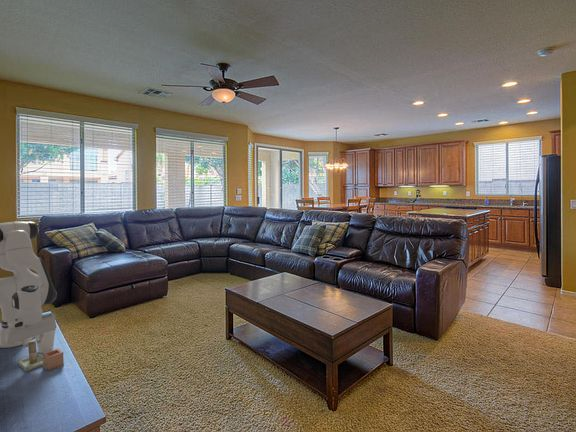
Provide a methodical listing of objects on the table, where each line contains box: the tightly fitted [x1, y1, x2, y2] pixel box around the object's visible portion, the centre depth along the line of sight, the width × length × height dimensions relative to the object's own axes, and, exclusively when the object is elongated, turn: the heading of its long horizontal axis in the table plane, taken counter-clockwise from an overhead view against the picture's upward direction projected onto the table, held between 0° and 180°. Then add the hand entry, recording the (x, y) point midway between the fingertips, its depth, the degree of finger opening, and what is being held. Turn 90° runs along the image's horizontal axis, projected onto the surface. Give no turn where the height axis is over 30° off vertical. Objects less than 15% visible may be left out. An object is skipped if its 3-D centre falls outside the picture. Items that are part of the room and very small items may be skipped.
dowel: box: [27, 339, 38, 364], centre depth 159 cm, size 3×3×11 cm
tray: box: [17, 352, 44, 373], centre depth 160 cm, size 12×9×2 cm
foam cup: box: [34, 328, 57, 354], centre depth 173 cm, size 10×9×13 cm
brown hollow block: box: [42, 348, 65, 372], centre depth 158 cm, size 6×6×7 cm
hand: (32, 344), depth 159 cm, fingers open, 4 cm apart
